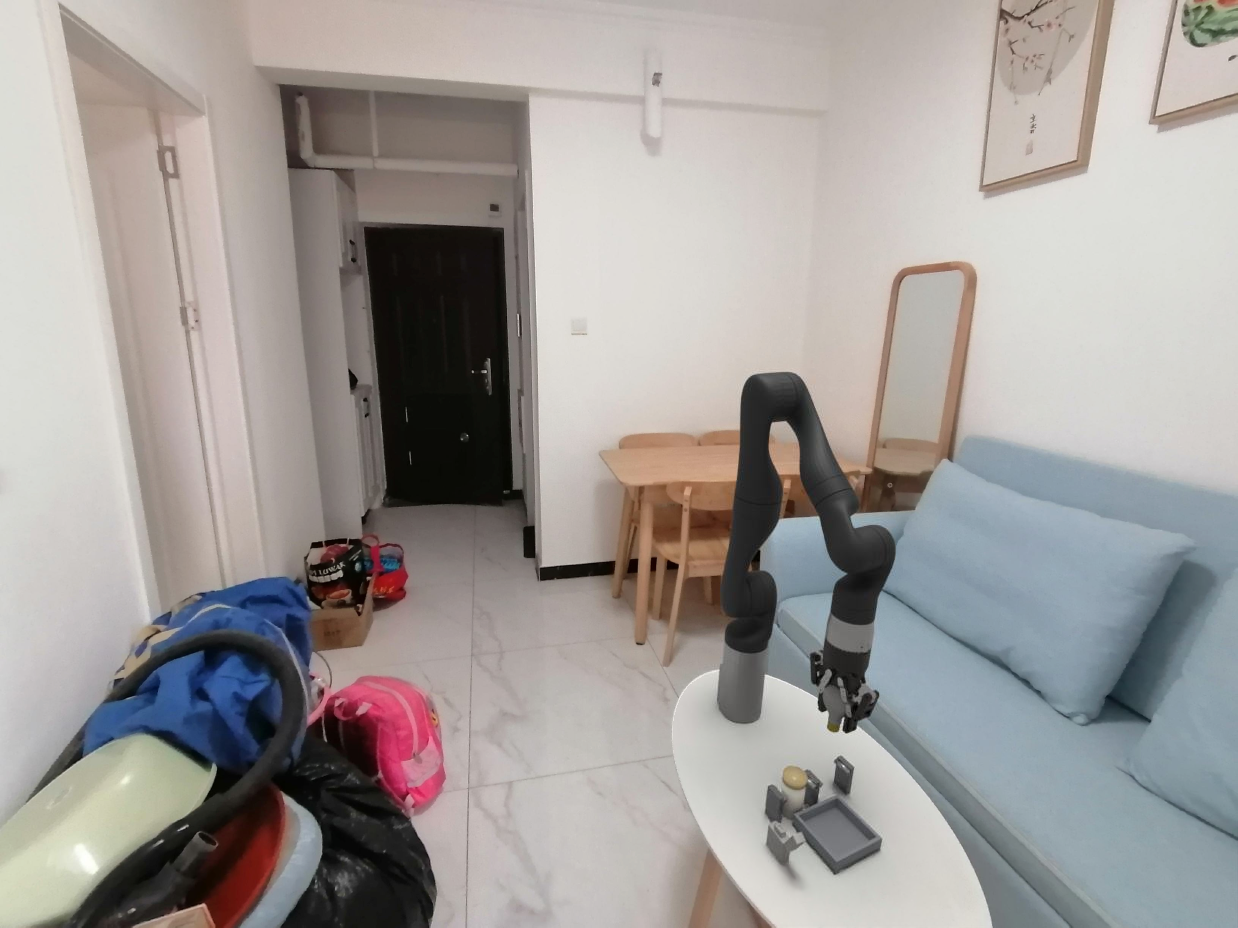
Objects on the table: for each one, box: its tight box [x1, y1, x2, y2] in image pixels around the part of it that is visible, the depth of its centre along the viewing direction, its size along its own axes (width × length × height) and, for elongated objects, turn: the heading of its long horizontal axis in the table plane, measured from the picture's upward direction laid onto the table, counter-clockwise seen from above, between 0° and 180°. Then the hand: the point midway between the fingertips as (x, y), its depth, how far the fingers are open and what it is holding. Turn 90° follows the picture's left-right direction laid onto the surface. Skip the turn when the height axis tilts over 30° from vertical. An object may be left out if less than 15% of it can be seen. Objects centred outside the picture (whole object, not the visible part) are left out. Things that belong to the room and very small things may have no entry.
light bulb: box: [823, 684, 854, 734], centre depth 107 cm, size 6×6×10 cm
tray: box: [791, 794, 883, 875], centre depth 103 cm, size 10×10×2 cm
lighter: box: [765, 821, 806, 865], centre depth 98 cm, size 7×2×8 cm, turn 23°
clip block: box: [764, 755, 855, 824], centre depth 109 cm, size 3×17×6 cm, turn 116°
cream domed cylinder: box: [780, 765, 807, 821], centre depth 107 cm, size 4×4×8 cm
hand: (835, 720), depth 107 cm, fingers closed on light bulb, 5 cm apart
